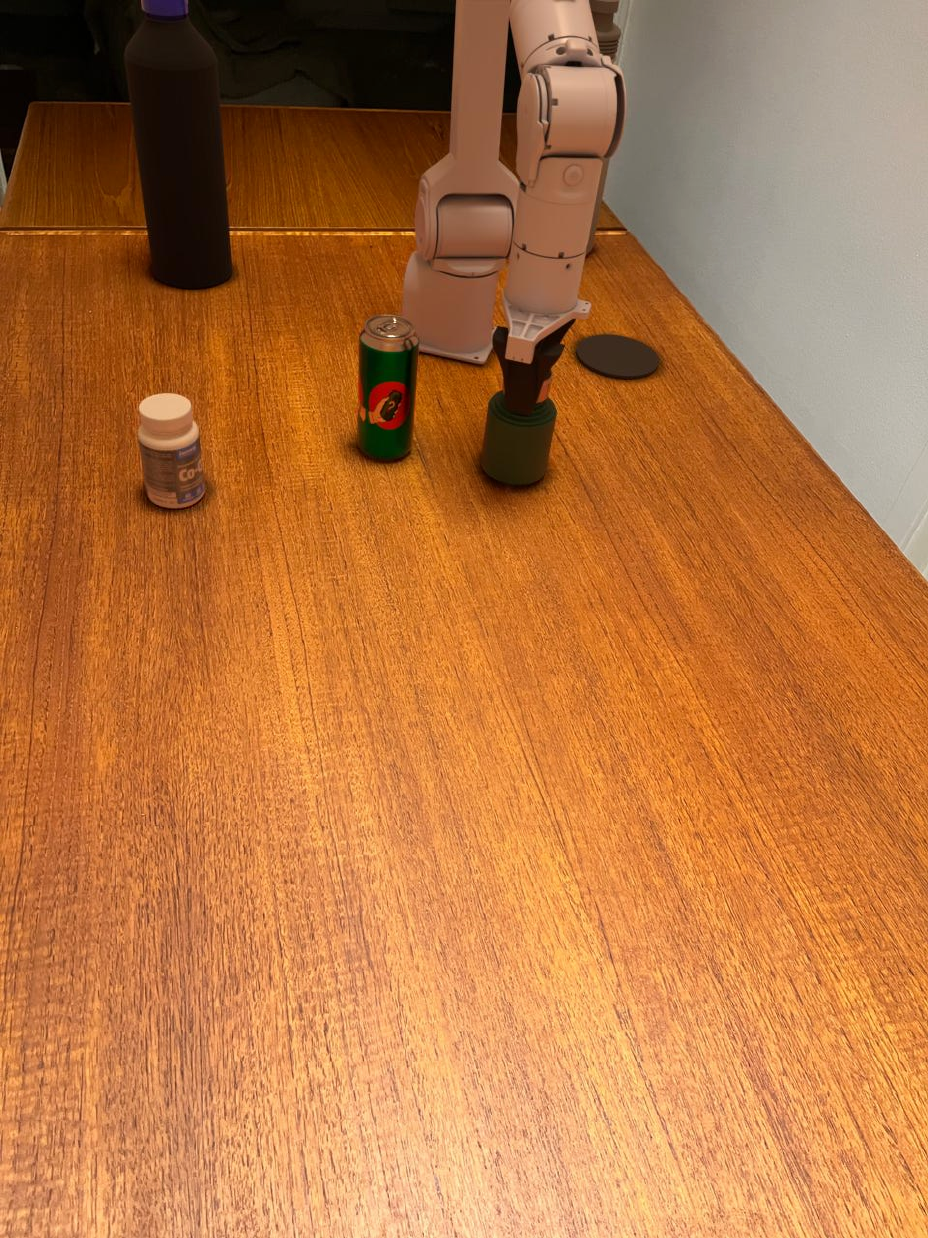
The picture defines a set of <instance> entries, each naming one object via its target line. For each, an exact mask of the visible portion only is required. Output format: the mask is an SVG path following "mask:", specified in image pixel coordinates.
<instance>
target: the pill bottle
mask: <svg viewBox="0 0 928 1238" xmlns="http://www.w3.org/2000/svg"><path fill="white" fill-rule="evenodd" d="M138 414H139V421H140V425H139V427H138V429H137V440H138V446H139V453H140V458H141V465H142V471H143V477H144V484H145V490H146V495H147V497H148V499H149V500H150V502H152V503H153V504H155V505H157V506H159V507H163V508H166V509H183V508H187V507H190V506H192V505H194V504H196V503H198V502H199V501H200V500H201V499H202V498H203V496H204V495H205V493H206V483H205V475H204V464H203V456H202V445H201V433H200V429H199V426H198V424H197V423H196V422H195V420H194V413H193V405H192V402H191V401H190V399H188V398H187V397H185V396H183V395H180V394H178V393H171V392H163V393H155V394H152V395H150V396H147V397H146V398H144V399H143V400H142V401H140V403H139V405H138Z"/></svg>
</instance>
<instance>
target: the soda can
mask: <svg viewBox="0 0 928 1238" xmlns="http://www.w3.org/2000/svg"><path fill="white" fill-rule="evenodd" d="M419 355H420V351H419V337H418V335H417V334H416V327H415V325H414V324H413V323H412V322H411V321H410V320H408V319H406V318H404V317H401V315H396V314H378V315H374V316H371V317H369V318H367V319H366V320H365V321H364V323H363V329H362V330H361V331H360V333H359V336H358V367H357V369H358V370H357V376H358V377H357V412H356V413H357V415H356V416H357V417H356V420H357V421H356V445H357V446H358V448H359V449H360V450H361V451H362V453H363V454H365V455H366V456H367V457H368V458H372V459H374V460H379V461H394V460H399V459H400V458H402V457H404V456H406V454H408V453H409V452H410V451H411V449H412V447H413V443H414V442H413V441H414V427H415V426H414V425H415V413H416V400H417V399H416V398H417V384H418V383H417V382H418V369H419V368H418V367H419Z"/></svg>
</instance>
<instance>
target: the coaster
mask: <svg viewBox="0 0 928 1238" xmlns="http://www.w3.org/2000/svg"><path fill="white" fill-rule="evenodd" d="M575 355H576V358H577V359H578V361H579V362H580V364H582V366H584V367H586V369H589V370H590V371H592V372H594V373H596V374H597V375H598V374H599V375H601V376H603V377H608V378H612V379H617V380H638V379H643V378H646V377H650V376H651V375H653V374H654V373H655V372H656V371H657V370H658V368H659V364H660V359H659V356H658V354H657V353H656V351H655V350H654V349H653V348H652V347H650V346H649V345H648V344H646V343H643V342H642V341H640V340H637V339H635V338H632V337H628V336H624V335H619V334H611V333H610V334H608V333H606V334H605V333H603V334H595V335H591V336H588V337H585V338H583V339H581V340H580V341H579V343H578V344H577V346H576V349H575Z"/></svg>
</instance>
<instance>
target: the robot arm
mask: <svg viewBox="0 0 928 1238" xmlns="http://www.w3.org/2000/svg"><path fill="white" fill-rule="evenodd" d="M454 21H455V22H454V41H453V61H452V63H453V67H452V83H451V84H452V85H451V86H452V87H451V108H450V131H449V151H448V153H447V154H446V155H445V156H444V157H442V159H440V160H439V161H438V162H436V163H435V164H434V165H432V166H431V167H430V168H428V169H427V170H426V171H425V172H424V173H423V174H422V175H421V176H420V180H419V182H418V196H417V201H416V204H415V211H414V236H415V237H414V238H415V244H416V249H417V250H414V251H413V252H412V253H411V255H410V256H409V259H408V262H407V264H406V268H405V272H404V278H403V283H402V298H401V315H400V316H401V317H404V318H406V319H408V320H410V321H411V322H412V323H413V324H414V325H415V327H416V334H417V335H418V337H419V352H421V353H426V354H430V355H434V356H440V357H444V358H448V359H454V360H458V361H461V362H462V361H463V362H468V363H472V364H477V365H485V364H486V362H487V361H488V358H489V357H490V354H491V352H492V351H494V353H495V355H496V357H497V360H498V363H499V365H500V369H501V373H502V381H504V391H505V401H506V407H507V411H509V412H514V413H518V414H522V415H527V416H530V415H531V414H532V412H533V410H534V407H535V405H536V403H537V400H538V397H539V395H540V392H541V389H542V386H543V383H544V380H545V378H546V376H547V374H548V372H549V371H550V369H551V370H552V368H553V367H554V366H555V364H556V363H557V362H558V361H559V359H560V358H561V356H562V354H563V352H564V350H565V347H566V344H564V343H562V341H563V339H564V338H565V336H566V335H567V333H568V332H569V330H570V329H571V327H572V326H573V325H574V324H575V323H576V321H577V320H579V321H586V320H587V319H588V318H589V316H590V314H591V309H592V303H591V302H590V301H587V300H583V299H580V298H579V292H580V287H581V281H582V277H583V271H584V265H585V260H586V256H587V255H586V250H587V245H588V239H589V234H590V229H591V223H592V218H593V212H594V207H595V202H596V196H597V191H598V185H599V180H600V175H601V169H602V164H603V162H602V161H601V160H600V159H601V158H602V157H604V158H610V159H611V158H612V157H614V155H615V154H616V152H617V151H618V149H619V147H620V144H621V142H622V139H623V134H624V131H625V126H626V120H627V119H626V118H627V107H628V105H627V102H628V101H627V100H628V99H627V89H626V83H625V76H624V72H623V71H622V69H621V67H620V66H618V65H616V64H614V63H613V64H612V62H611V59H610V56H603V55H602V54H600V50H599V45H598V40H597V36H596V31H595V27H594V22H593V18H592V13H591V9H590V4H589V0H456V1H455V19H454ZM509 23H510V29H511V35H512V39H513V45H514V50H515V55H516V61H517V65H518V71H519V76H520V81H521V86H520V90H519V94H518V98H517V107H516V133H517V146H516V147H517V149H516V156H515V164H516V165H515V172H516V173H517V175H518V177H519V179H518V178H517V176H516V175H515V174H514V173H513V172H512V171H511V170H510V169H509V168H508V167H506V166H505V165H504V164H503V163H502V162H501V161H500V160H499V159H500V145H501V130H502V117H503V105H504V89H505V78H506V77H505V75H506V63H507V49H508V37H509V36H508V35H509ZM507 261H508V268H507V277H506V284H505V288H504V289H503V291H502V295H501V306H502V310H503V313H504V318H505V322H506V326H501V325H497V326H494V325H493V324H494V316H495V307H496V300H497V292H498V285H499V277H500V271H505V269H506V263H507Z"/></svg>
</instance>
